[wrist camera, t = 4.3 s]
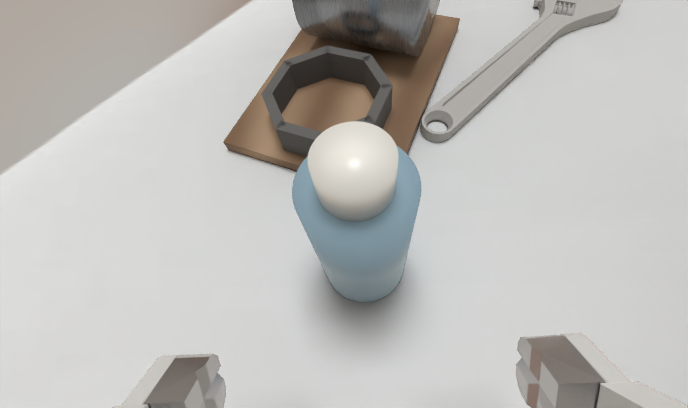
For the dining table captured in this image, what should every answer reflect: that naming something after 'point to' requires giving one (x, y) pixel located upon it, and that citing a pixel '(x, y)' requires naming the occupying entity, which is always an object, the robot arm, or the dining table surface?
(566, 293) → the dining table surface
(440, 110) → the adjustable wrench
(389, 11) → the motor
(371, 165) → the blue plastic bottle
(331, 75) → the collar
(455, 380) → the dining table surface
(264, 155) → the base plate
